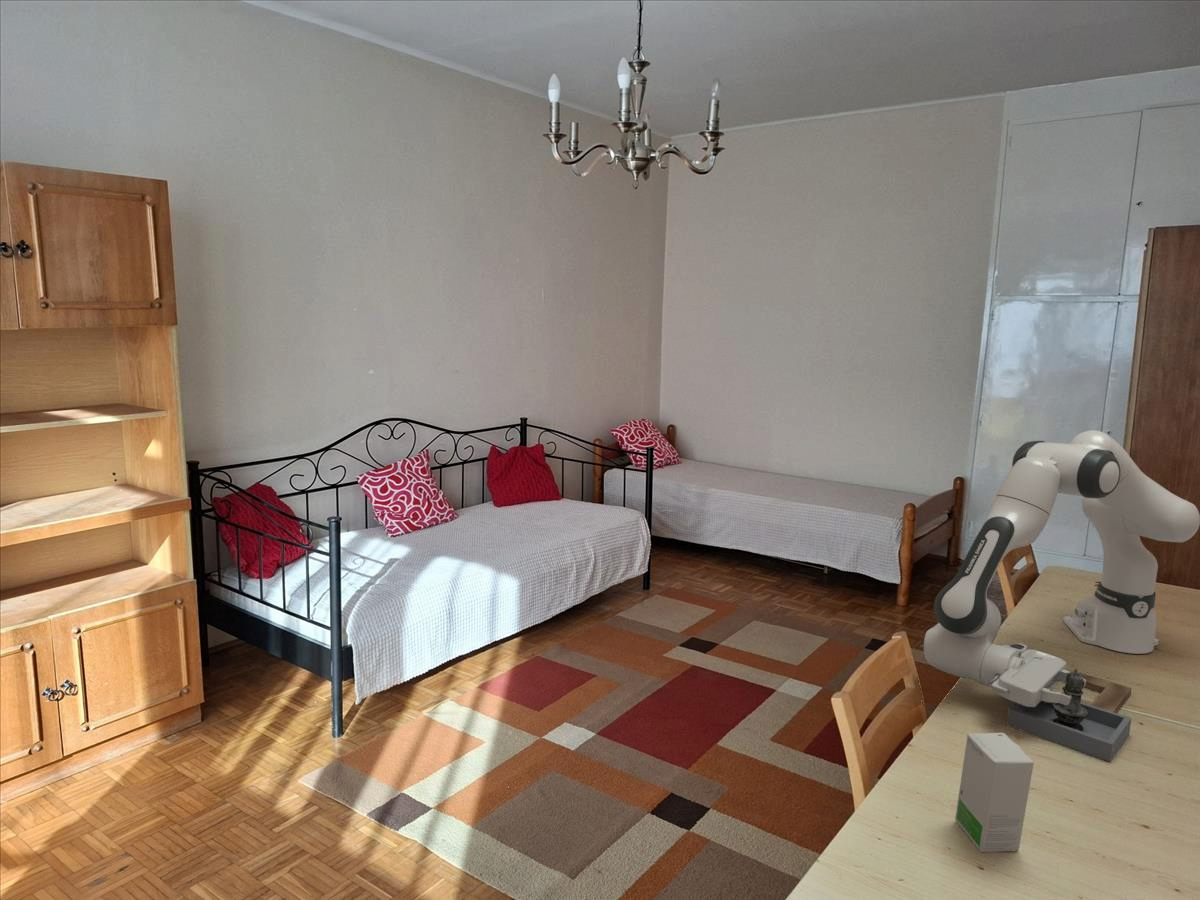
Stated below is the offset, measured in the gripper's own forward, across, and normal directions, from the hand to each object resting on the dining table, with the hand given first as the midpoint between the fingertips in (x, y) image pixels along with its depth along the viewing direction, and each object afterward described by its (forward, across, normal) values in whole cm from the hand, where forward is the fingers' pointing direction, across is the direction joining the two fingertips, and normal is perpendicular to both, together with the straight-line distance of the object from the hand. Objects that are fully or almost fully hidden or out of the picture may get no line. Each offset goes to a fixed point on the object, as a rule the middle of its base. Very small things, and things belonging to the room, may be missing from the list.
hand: (1077, 692), depth 161 cm
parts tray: (-1, 0, +8) cm, 8 cm away
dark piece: (-1, 0, +8) cm, 8 cm away
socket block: (-5, +18, +8) cm, 20 cm away
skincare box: (0, -46, +8) cm, 46 cm away
